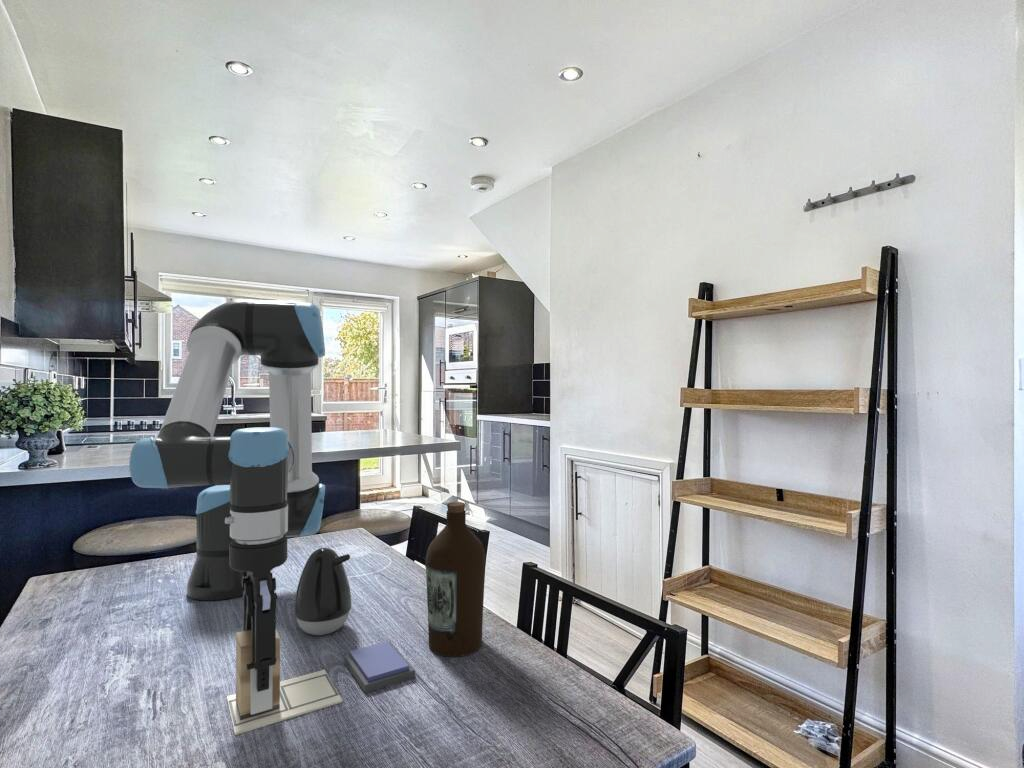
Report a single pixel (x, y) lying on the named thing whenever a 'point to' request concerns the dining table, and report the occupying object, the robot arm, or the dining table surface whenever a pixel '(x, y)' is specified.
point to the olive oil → (455, 587)
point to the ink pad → (378, 666)
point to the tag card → (290, 701)
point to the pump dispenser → (323, 593)
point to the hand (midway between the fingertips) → (258, 699)
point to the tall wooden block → (244, 675)
